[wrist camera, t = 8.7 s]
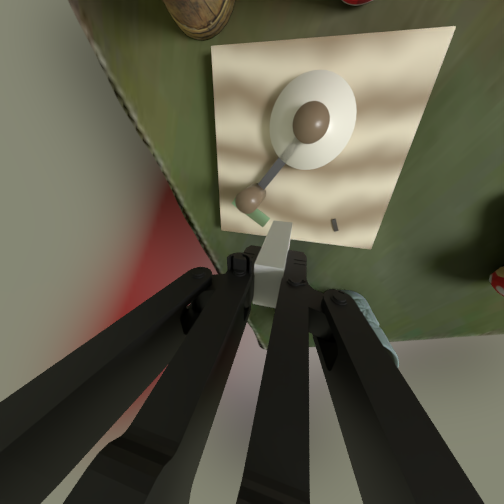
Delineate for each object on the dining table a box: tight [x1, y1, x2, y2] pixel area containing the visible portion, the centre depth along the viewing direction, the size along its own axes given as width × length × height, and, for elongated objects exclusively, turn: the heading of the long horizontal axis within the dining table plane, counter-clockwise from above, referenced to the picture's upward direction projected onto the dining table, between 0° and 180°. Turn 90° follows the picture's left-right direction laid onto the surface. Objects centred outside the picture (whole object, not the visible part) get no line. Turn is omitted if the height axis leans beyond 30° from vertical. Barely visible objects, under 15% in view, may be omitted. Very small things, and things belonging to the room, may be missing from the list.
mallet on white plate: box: [235, 70, 357, 214], centre depth 23 cm, size 18×10×6 cm, turn 141°
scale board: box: [211, 26, 456, 249], centre depth 27 cm, size 24×25×2 cm
